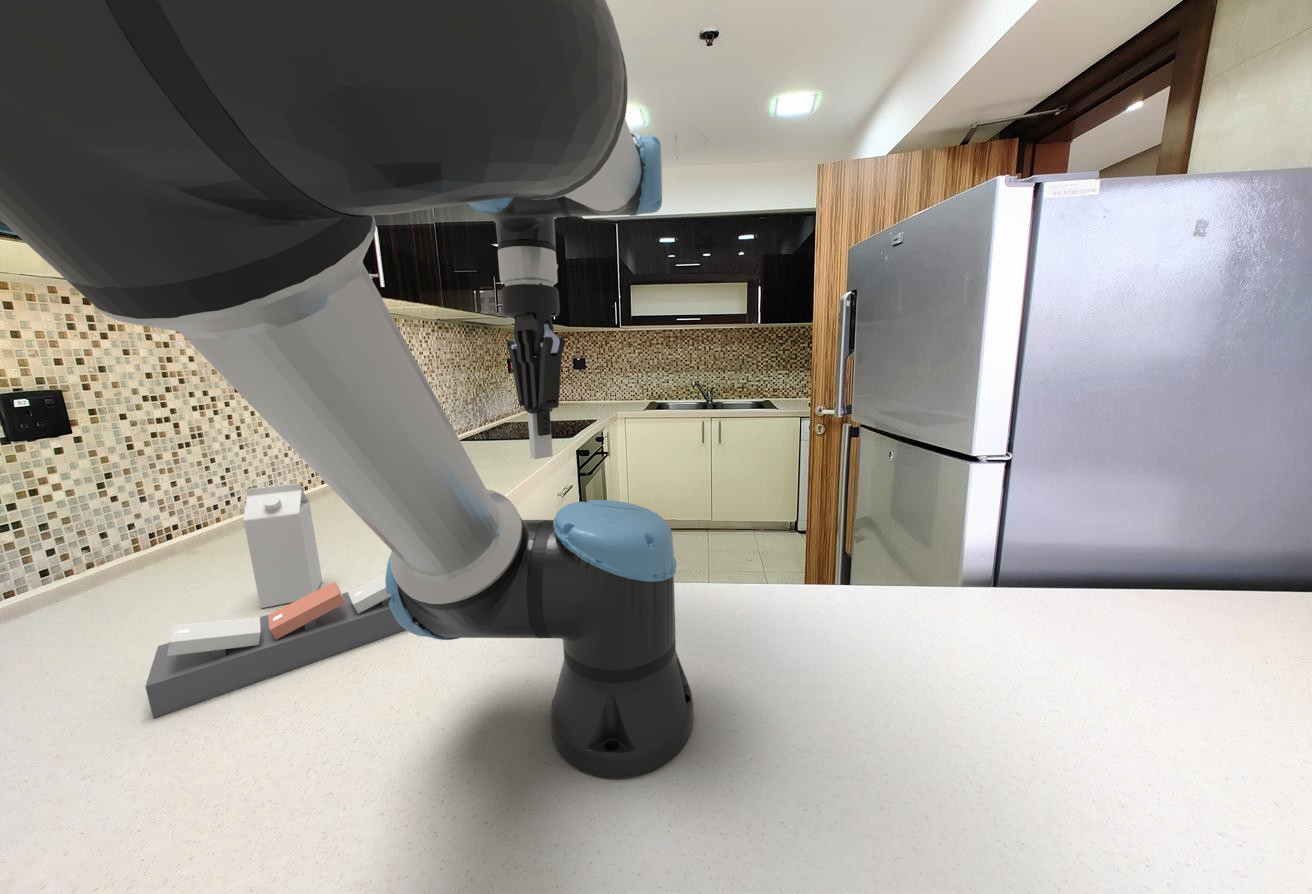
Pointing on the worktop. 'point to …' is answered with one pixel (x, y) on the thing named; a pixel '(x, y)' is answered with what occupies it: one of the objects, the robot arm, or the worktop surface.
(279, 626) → the rocker red
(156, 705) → the dark grey switch base
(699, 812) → the worktop surface
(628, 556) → the robot arm
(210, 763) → the worktop surface
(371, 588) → the grey rocker
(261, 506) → the milk carton
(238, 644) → the grey rocker
